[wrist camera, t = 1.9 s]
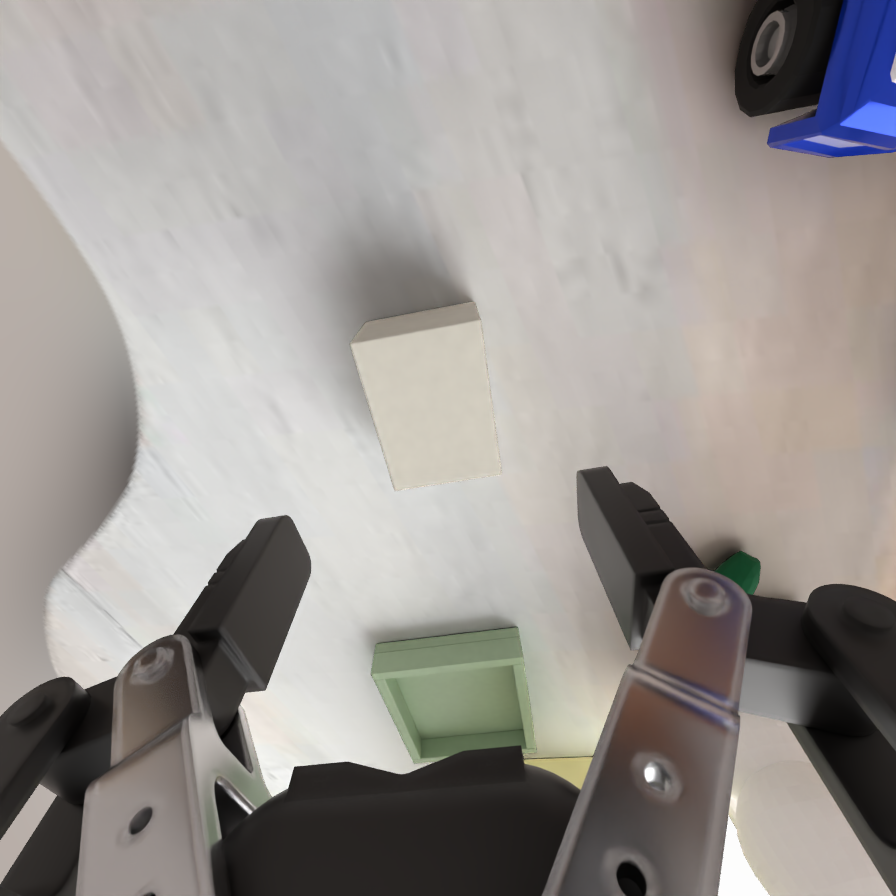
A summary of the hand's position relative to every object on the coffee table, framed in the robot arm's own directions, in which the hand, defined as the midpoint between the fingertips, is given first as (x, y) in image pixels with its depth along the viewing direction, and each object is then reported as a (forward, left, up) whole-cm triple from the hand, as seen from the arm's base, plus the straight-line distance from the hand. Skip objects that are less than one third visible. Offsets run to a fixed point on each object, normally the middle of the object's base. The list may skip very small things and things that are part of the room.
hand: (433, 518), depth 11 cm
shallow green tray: (+26, -3, -10) cm, 28 cm away
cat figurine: (+29, +17, -10) cm, 35 cm away
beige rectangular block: (0, 0, -10) cm, 10 cm away
